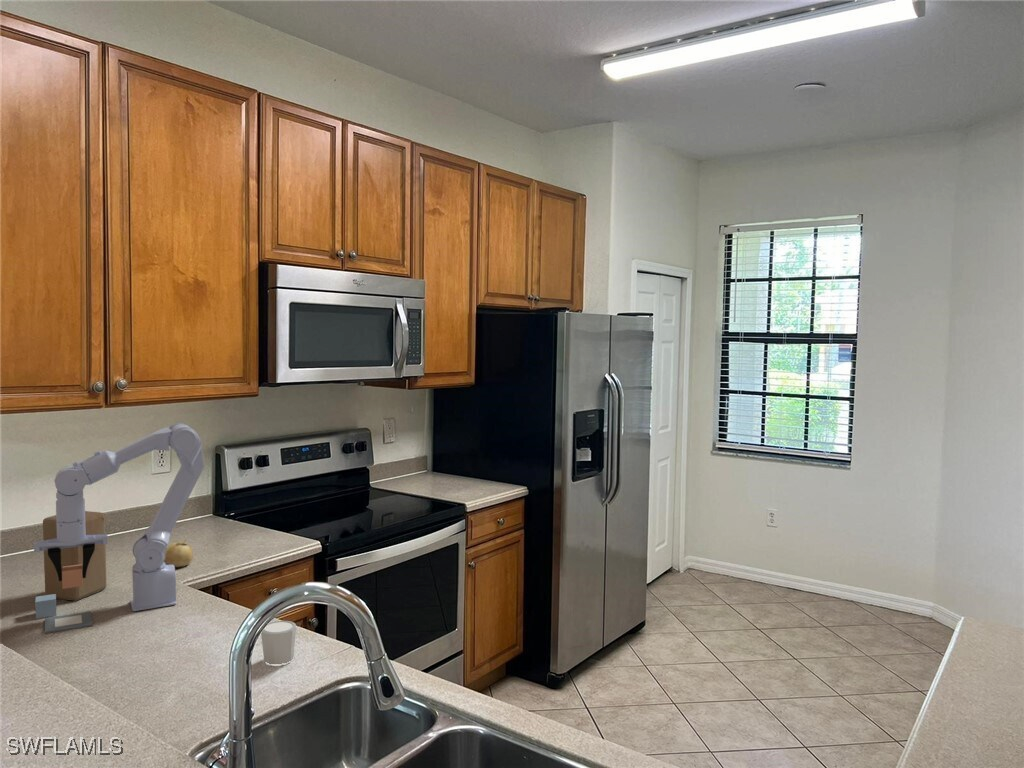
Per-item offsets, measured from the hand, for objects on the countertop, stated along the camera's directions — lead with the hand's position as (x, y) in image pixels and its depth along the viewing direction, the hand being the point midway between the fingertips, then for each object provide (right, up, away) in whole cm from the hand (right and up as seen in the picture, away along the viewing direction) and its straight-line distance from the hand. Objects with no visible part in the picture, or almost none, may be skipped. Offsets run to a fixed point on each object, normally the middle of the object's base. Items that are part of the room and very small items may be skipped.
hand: (72, 578), depth 173 cm
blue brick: (-7, -9, +2) cm, 12 cm away
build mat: (+1, -9, -3) cm, 10 cm away
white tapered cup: (+54, -11, -21) cm, 59 cm away
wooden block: (-8, -8, +16) cm, 19 cm away
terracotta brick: (0, -2, 0) cm, 2 cm away
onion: (+7, -7, +39) cm, 40 cm away
